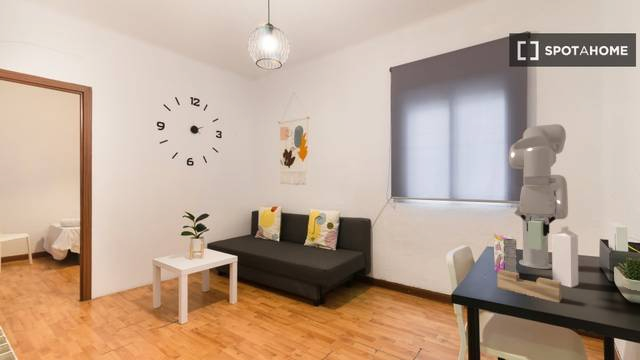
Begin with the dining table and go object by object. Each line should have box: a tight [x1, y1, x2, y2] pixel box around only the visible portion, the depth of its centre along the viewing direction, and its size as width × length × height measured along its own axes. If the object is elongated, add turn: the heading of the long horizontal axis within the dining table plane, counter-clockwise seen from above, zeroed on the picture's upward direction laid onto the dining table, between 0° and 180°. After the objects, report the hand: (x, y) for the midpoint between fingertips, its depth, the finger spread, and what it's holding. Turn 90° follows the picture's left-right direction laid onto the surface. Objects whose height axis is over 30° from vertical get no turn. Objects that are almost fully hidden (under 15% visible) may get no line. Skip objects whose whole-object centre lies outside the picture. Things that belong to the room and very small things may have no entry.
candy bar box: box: [493, 233, 518, 273], centre depth 123 cm, size 11×5×16 cm, turn 168°
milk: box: [551, 225, 579, 288], centre depth 112 cm, size 6×6×22 cm
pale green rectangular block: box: [528, 219, 549, 250], centre depth 102 cm, size 11×4×9 cm, turn 133°
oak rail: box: [496, 270, 562, 303], centre depth 103 cm, size 4×18×6 cm, turn 41°
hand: (537, 234), depth 102 cm, fingers closed on pale green rectangular block, 3 cm apart
